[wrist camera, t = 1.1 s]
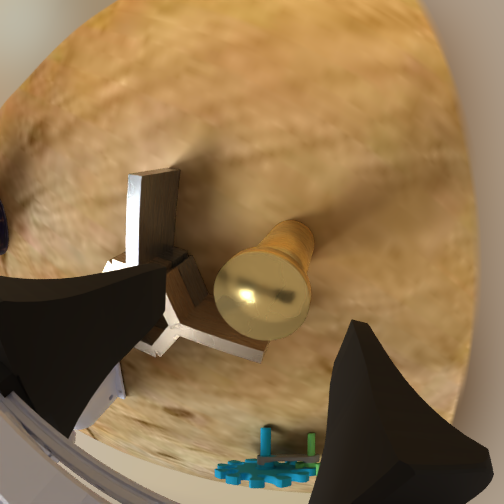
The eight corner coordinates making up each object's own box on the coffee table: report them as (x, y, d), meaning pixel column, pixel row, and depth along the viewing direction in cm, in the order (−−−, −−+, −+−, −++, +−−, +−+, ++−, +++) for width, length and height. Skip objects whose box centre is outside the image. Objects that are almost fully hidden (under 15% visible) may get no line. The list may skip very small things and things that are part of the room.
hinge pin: (313, 278, 19) (295, 350, 12) (257, 263, 20) (209, 324, 13) (328, 220, 18) (320, 268, 11) (267, 206, 19) (219, 241, 12)
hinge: (268, 355, 23) (252, 393, 18) (130, 305, 25) (99, 330, 21) (306, 194, 18) (296, 206, 14) (132, 163, 21) (90, 168, 16)
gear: (230, 466, 28) (199, 488, 19) (230, 422, 31) (199, 430, 22) (324, 467, 26) (328, 493, 17) (325, 421, 29) (330, 432, 20)
